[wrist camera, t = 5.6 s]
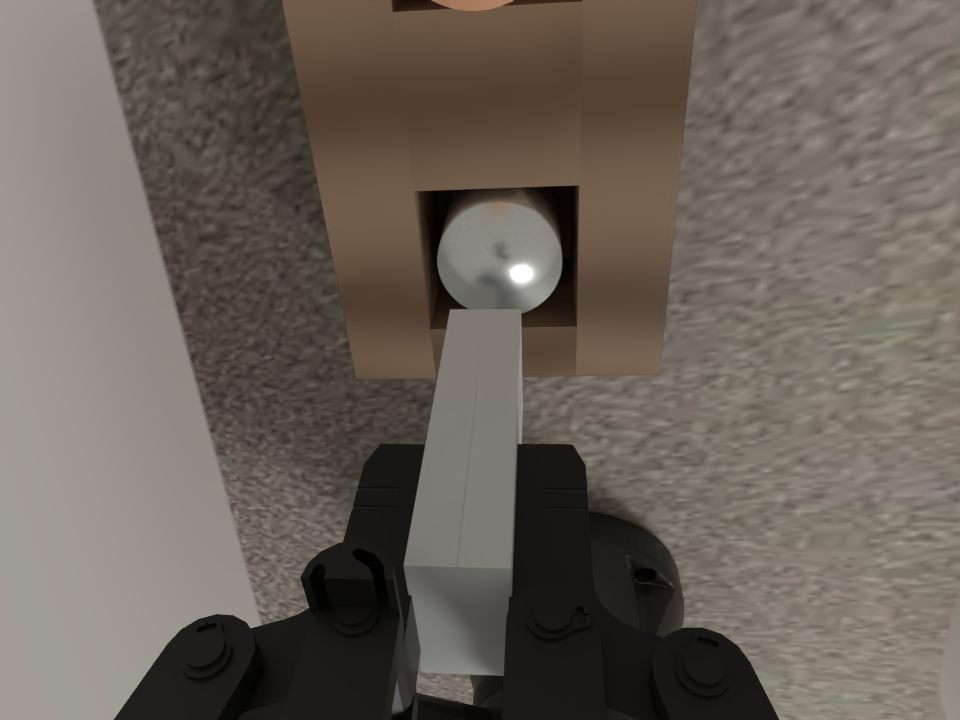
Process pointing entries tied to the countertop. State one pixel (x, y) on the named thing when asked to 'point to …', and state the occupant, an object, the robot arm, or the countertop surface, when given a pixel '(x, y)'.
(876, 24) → the countertop surface
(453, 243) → the grey rounded piece
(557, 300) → the brown wooden block
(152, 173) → the countertop surface
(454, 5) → the tan rounded piece
